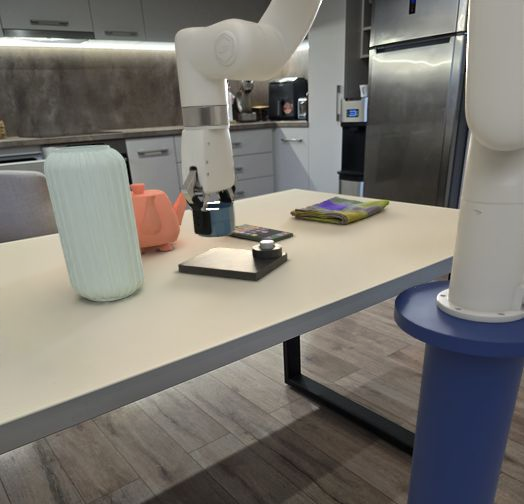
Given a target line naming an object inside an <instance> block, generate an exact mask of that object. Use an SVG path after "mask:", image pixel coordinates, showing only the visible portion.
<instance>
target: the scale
mask: <svg viewBox="0 0 524 504" xmlns="http://www.w3.org/2000/svg"><path fill="white" fill-rule="evenodd" d="M287 261H288V252H283V246H282V245H281V244H279V243H275V242H274V248H271V249H260V243H257V244H255V245H253V246H251V249H245V248H244V249H242V248H231V247H221V246H220V247H219V246H214V247H213V248H210V249H208V250H207V251H204V252H202V253H199V254H197V255H196V256H193V257H191V258H188V259H187V260H185V261H182V262H181V263H179V264H177V268H178V273H185V274H193V275H202V276H210V277H211V276H212V277H218V278H219V277H220V278H221V277H222V278H229V279H238V280H247V281H255V282H256V281H258V280H260V279H261V278H263V277H264V276H265V275H267V274H269V273H270V272H272V271H274V270H275V269H276V268H278V267H280V266H281V265H282V264H284V263H286V262H287Z"/></svg>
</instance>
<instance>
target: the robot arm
mask: <svg viewBox="0 0 524 504" xmlns="http://www.w3.org/2000/svg"><path fill="white" fill-rule="evenodd" d="M322 1H323V0H271V1H270V3H269V5H268V6H267V8H266V10H265V12H264V13H263V15H262V16H261V18H260V19H259V21H258V22H254V21H250V20H245V19H241V18H229V19H224V20H222V21H219V22H216V23H214V24H211V25H207V26H192V27H185V28H182V29H180V30H178V31H177V32H176V34H175V35H174V50H175V51H174V52H175V60H176V71H177V80H178V89H179V90H178V91H179V98H180V106H181V117H182V127H183V129H182V131H181V137H180V138H181V139H180V140H181V141H180V160H181V161H180V162H181V179H182V186H181V188H180V192H182V194H183V195H184V197H185V199H186V202H187V205H188V206H189V210H190V212H191V214H192V222H193V231H194V234H195V235H198V234H201V235H210V234H211V233H212V230H211V219H210V211H207V207H208V203H209V201H210V196H211V195H214V194H216V196H217V199H218V202H228V203H232V204H234V203H235V200H236V197H235V192H236V188H237V182H238V178H239V177H238V174H236V172H235V162H234V152H233V145H232V139H231V133H230V128H231V127H230V111H229V110H230V109H229V96H228V83H227V80H229V81H241V82H242V81H243V82H246V81H247V82H248V81H251V82H265V81H266V82H267V81H270V80H271V79H273V78H275V77H276V76H277V75H278V74H280V72H282V70H283V69H284V68H285V67H286V65H287V64H288V63H289V61H290V60H291V59H292V58H293V56H294V55H295V53H296V51H298V49H299V47H300V46H301V44H302V43H303V41H304V40H305V38H306V36H307V35H308V34H309V31H310V29H311V28H312V26H313V24H314V21H315V19H316V17H317V14H318V12H319V9H320V6H321V4H322ZM467 15H468V16H467V37H466V38H467V41H466V42H467V43H466V67H465V68H466V72H465V96H464V97H465V99H464V102H465V103H464V113H465V114H464V115H465V120H466V124H467V128H468V129H469V132H470V136H469V137H470V138H469V143H468V147H467V148H468V149H467V156H466V161H465V168H464V175H463V180H462V181H463V182H462V190H461V197H460V203H459V211H458V218H457V219H458V220H457V224H456V225H457V226H456V232H455V233H456V234H455V241H454V248H453V256H452V262H451V263H452V264H451V272H450V278H449V280H450V286H449V289H446V290H444V291H442V292H440V293H439V294H438V295H437V301H436V304H437V306H438V308H439V309H440V310H442V311H443V312H445V313H446V314H449V315H451V316H454V317H457V318H460V319H464V320H469V321H475V322H484V323H505V322H512V321H516V320H520V319H522V318H524V0H468V13H467ZM200 198H201V199H200ZM234 205H235V204H234Z"/></svg>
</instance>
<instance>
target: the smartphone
mask: <svg viewBox="0 0 524 504" xmlns="http://www.w3.org/2000/svg"><path fill="white" fill-rule="evenodd" d="M229 236H233V237H238V238H242V239H246V240H247V239H248V240H253V241H257V242H260V241H262V240H272V241H274V243H275V242H279V241H281V240H284V239H288V238H291V237H294V232H289V231H284V230H278V229H273V228H269V227H263V226H257V225H252V224H247V223H244V224H241V225H237V226H236V229H235V231H233V233H232V234H230V235H229Z"/></svg>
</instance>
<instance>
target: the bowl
mask: <svg viewBox="0 0 524 504" xmlns="http://www.w3.org/2000/svg"><path fill="white" fill-rule="evenodd" d="M207 211H210V219H211V230H212V233H211V234H210V235H201V234H197V235H198V236H199V237H202V238H221V237H227V236H231V235H230V234H232V233H233V231H235V229H236V225H237V224H236V212H235V204H232V203H228V202H221V201H214V202H208V207H207Z"/></svg>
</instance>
